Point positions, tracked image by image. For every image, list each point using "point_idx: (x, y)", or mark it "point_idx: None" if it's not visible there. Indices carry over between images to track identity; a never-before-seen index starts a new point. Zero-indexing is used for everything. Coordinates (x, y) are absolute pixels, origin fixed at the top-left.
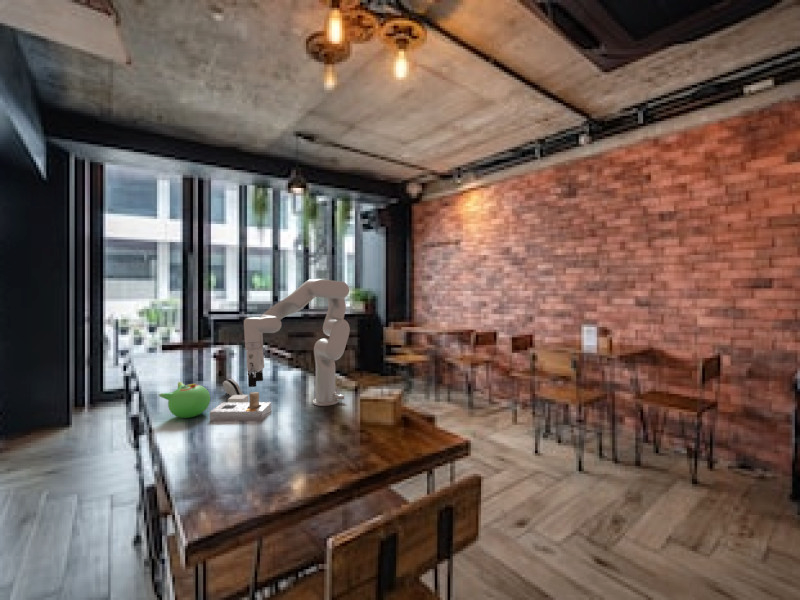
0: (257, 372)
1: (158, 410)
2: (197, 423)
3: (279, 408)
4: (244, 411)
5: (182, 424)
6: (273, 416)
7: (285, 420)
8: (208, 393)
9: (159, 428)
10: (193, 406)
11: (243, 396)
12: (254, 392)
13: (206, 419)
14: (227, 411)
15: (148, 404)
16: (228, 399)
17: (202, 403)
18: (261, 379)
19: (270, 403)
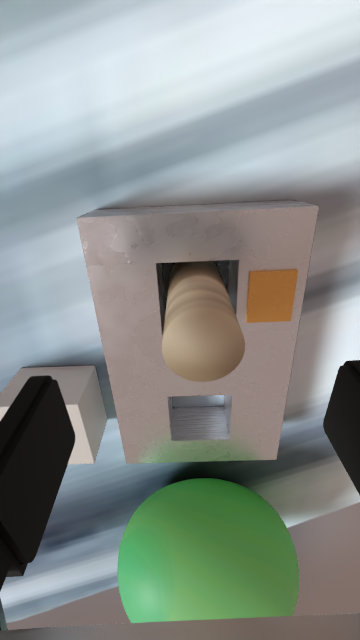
0: (9, 556)
1: None
2: (286, 449)
3: (30, 167)
4: (298, 321)
5: (290, 480)
6: (210, 151)
7: (314, 3)
8: (176, 554)
9: (319, 512)
10: (281, 527)
11: None
12: (172, 356)
13: None
14: (283, 400)
15: (92, 594)
16: (94, 459)
17: (248, 518)
18: (49, 398)
19: (96, 216)
